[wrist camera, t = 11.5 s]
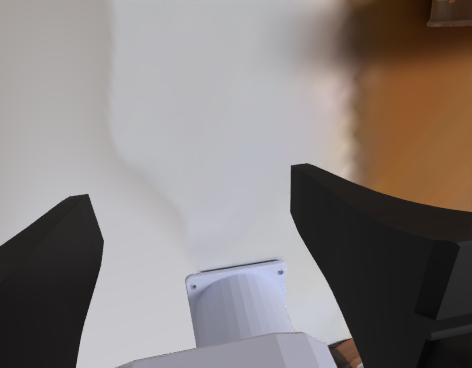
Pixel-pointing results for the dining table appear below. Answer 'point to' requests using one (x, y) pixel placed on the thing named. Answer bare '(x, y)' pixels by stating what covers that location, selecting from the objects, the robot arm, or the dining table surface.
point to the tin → (450, 13)
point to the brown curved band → (346, 355)
